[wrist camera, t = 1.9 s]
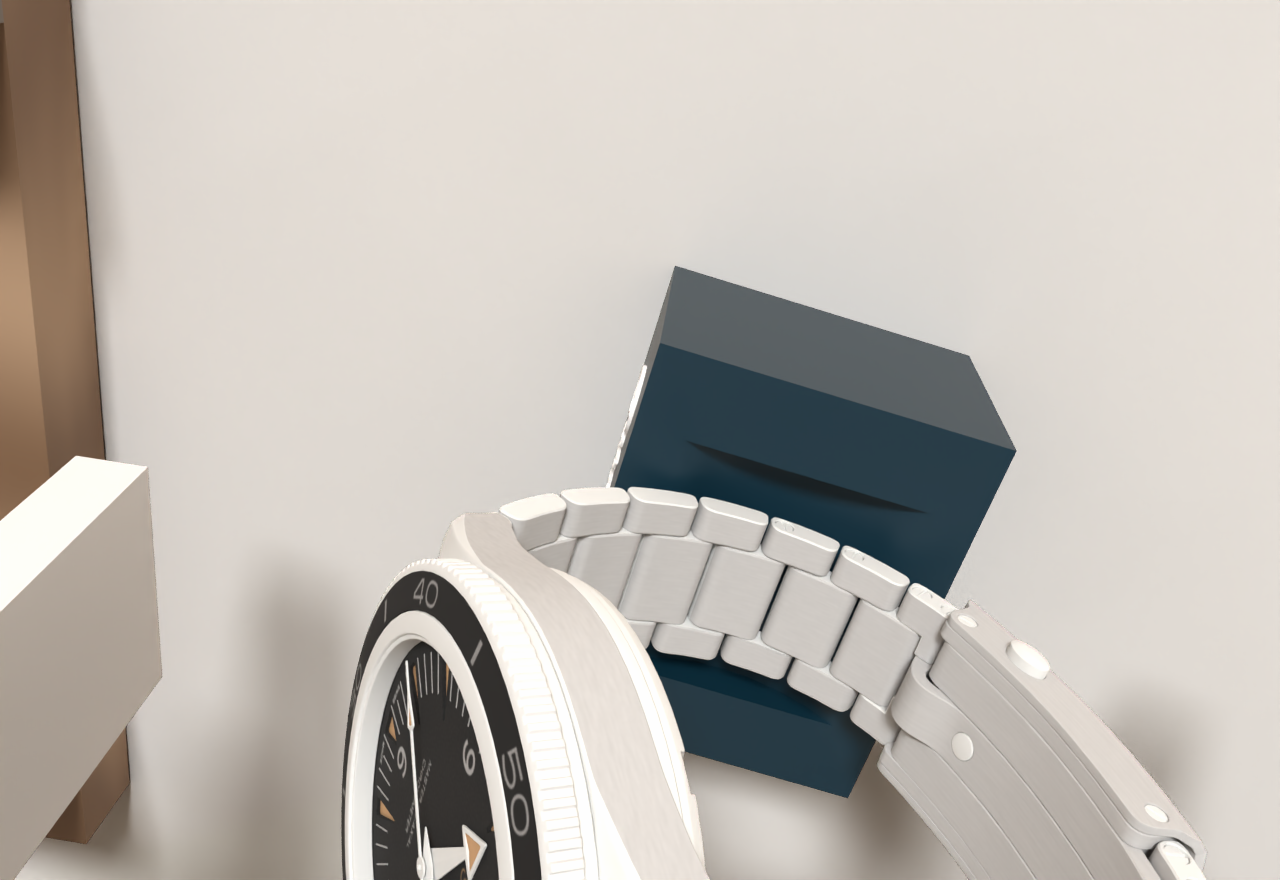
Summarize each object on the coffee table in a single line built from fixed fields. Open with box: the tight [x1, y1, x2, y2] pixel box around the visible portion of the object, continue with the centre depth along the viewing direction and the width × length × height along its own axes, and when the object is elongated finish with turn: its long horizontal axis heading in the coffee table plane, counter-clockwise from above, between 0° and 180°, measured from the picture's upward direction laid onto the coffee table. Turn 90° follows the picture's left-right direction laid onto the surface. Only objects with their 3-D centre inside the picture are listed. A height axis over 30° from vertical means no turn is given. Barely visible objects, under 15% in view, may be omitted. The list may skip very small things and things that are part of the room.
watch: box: [342, 266, 1207, 880], centre depth 12 cm, size 6×8×11 cm
